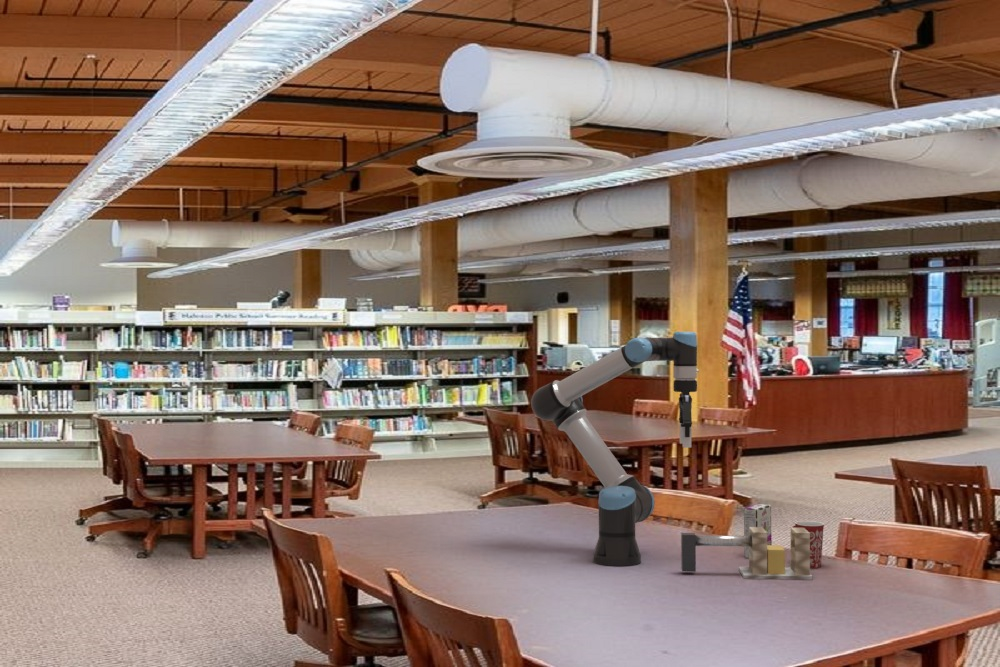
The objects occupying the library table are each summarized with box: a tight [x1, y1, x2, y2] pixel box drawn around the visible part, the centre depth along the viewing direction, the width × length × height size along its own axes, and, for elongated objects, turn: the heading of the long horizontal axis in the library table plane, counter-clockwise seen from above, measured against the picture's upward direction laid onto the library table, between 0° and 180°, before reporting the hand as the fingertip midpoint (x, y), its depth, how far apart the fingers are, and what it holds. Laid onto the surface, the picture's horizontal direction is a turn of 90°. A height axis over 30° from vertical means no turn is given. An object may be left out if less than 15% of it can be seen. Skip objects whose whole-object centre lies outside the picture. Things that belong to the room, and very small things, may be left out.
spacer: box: [767, 544, 786, 574], centre depth 358 cm, size 5×8×7 cm, turn 175°
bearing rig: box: [738, 527, 813, 581], centre depth 358 cm, size 20×13×14 cm, turn 85°
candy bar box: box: [743, 503, 773, 559], centre depth 388 cm, size 11×5×16 cm, turn 143°
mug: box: [791, 520, 825, 569], centre depth 373 cm, size 13×9×14 cm
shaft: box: [680, 532, 752, 573], centre depth 359 cm, size 24×4×11 cm, turn 85°
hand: (685, 445), depth 382 cm, fingers open, 13 cm apart
